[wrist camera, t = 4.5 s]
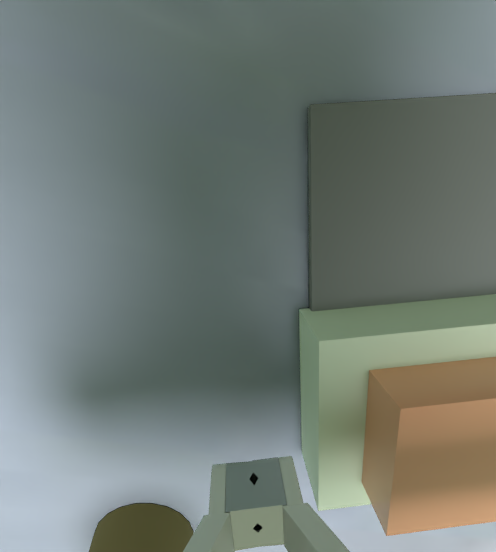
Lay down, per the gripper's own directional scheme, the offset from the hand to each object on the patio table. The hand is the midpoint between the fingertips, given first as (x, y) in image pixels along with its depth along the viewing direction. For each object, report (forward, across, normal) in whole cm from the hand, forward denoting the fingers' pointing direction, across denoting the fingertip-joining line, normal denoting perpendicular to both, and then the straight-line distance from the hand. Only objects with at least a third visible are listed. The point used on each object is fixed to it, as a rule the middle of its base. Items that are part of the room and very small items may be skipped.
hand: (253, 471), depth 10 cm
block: (+1, -9, 0) cm, 9 cm away
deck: (+4, -9, 0) cm, 10 cm away
